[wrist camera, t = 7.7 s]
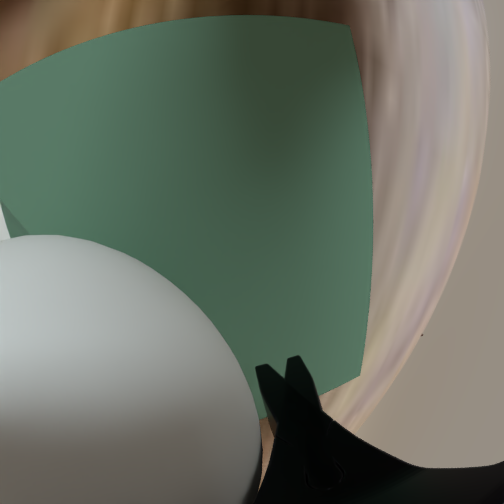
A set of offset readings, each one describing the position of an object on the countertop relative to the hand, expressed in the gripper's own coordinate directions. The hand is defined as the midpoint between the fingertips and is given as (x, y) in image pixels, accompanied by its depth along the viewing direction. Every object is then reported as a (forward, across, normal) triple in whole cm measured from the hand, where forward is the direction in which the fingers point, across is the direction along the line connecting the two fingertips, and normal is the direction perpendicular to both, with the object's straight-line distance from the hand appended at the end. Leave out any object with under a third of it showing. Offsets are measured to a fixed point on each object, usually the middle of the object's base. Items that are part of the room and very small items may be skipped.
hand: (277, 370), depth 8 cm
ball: (-2, +6, -1) cm, 6 cm away
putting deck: (+4, +9, -2) cm, 10 cm away
